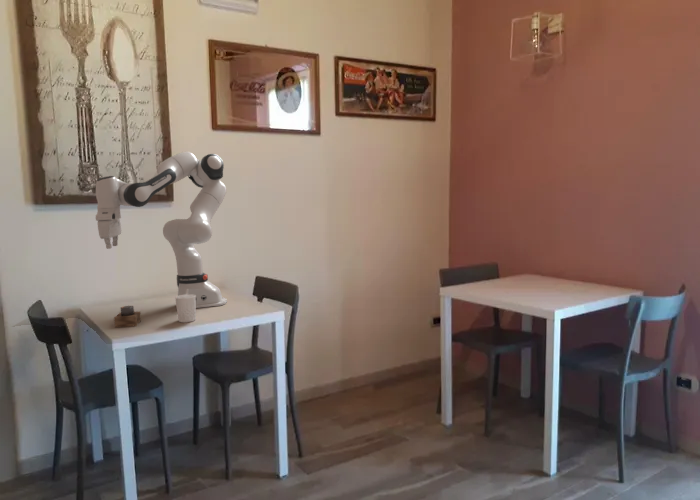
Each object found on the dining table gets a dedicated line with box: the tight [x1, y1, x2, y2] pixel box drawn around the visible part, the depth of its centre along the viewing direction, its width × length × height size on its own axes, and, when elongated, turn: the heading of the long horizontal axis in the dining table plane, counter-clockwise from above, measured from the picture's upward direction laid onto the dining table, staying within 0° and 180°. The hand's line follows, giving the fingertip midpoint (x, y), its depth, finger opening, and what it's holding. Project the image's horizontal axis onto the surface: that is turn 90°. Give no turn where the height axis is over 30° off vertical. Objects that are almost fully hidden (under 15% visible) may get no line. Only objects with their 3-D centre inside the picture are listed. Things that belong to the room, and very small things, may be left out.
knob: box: [120, 305, 135, 316], centre depth 226 cm, size 5×5×6 cm
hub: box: [113, 311, 142, 328], centre depth 227 cm, size 8×8×4 cm
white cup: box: [175, 294, 197, 323], centre depth 229 cm, size 8×8×10 cm
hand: (112, 247), depth 241 cm, fingers open, 8 cm apart
